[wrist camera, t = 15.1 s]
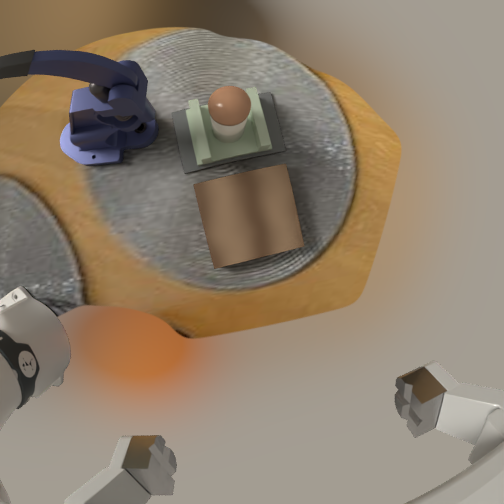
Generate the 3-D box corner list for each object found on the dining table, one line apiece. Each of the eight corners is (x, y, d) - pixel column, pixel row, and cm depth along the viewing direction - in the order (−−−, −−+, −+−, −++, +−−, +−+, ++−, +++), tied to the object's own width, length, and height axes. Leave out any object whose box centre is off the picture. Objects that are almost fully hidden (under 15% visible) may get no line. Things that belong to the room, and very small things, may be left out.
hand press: (170, 100, 36) (106, -39, 8) (167, 159, 37) (67, 71, 9) (58, 117, 34) (-67, 55, 6) (52, 171, 35) (-93, 148, 7)
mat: (184, 173, 37) (184, 173, 37) (172, 113, 36) (171, 112, 36) (285, 151, 38) (286, 150, 38) (269, 93, 37) (270, 92, 36)
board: (214, 265, 40) (214, 268, 37) (195, 186, 38) (193, 184, 35) (299, 243, 40) (304, 246, 38) (282, 166, 39) (285, 163, 36)
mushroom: (215, 147, 36) (212, 128, 27) (208, 117, 35) (204, 91, 26) (248, 139, 36) (255, 119, 27) (240, 110, 36) (245, 82, 27)
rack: (198, 166, 37) (195, 161, 33) (186, 112, 36) (182, 102, 32) (271, 149, 38) (276, 143, 34) (257, 97, 36) (261, 86, 32)
